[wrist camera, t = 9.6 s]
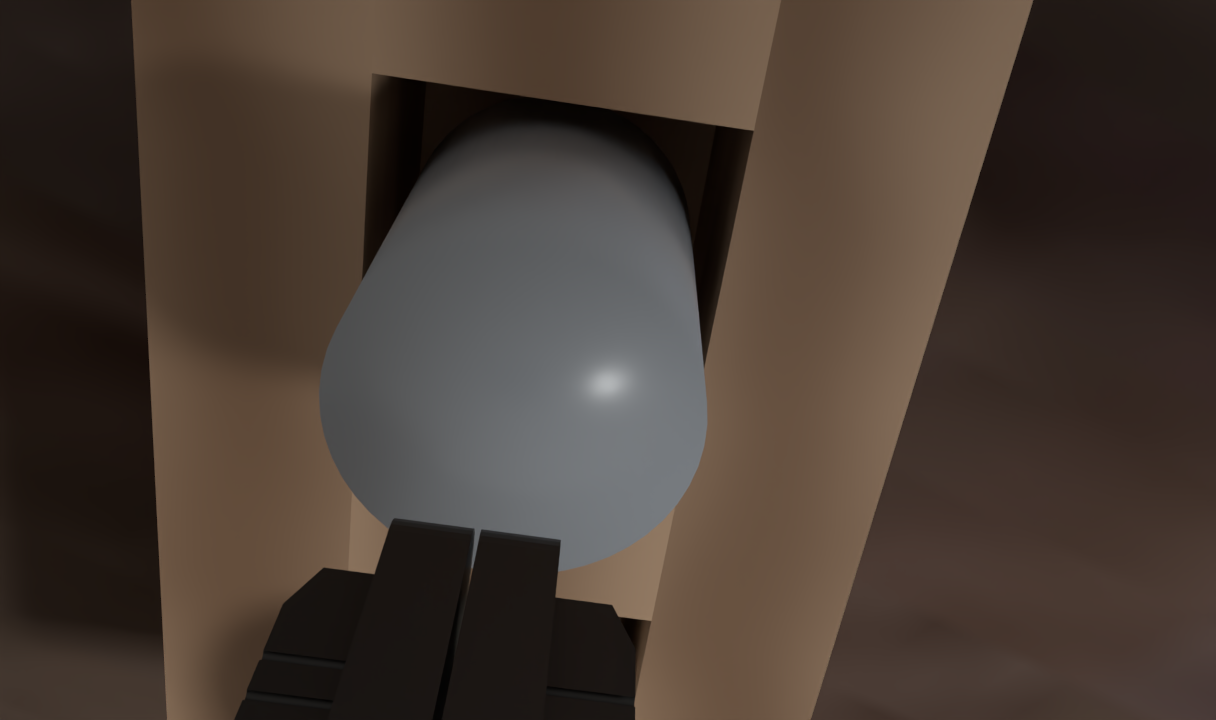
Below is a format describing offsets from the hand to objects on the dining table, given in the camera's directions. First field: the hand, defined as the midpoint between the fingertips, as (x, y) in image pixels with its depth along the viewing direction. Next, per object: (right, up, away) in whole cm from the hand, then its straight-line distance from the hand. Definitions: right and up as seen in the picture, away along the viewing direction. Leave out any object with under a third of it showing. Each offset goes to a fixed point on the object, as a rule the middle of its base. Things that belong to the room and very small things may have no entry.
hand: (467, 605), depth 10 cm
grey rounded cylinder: (0, +4, +8) cm, 10 cm away
